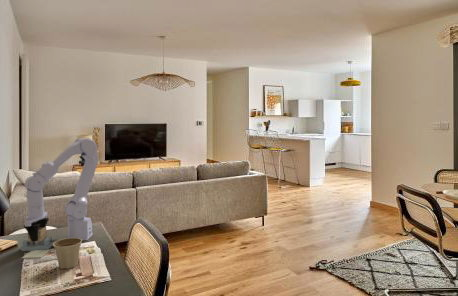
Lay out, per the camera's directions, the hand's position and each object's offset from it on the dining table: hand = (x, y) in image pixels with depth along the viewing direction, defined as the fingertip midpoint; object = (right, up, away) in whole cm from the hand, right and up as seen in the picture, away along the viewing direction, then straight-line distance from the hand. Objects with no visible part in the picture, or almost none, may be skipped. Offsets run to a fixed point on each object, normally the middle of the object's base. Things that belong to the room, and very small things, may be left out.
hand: (37, 238), depth 143 cm
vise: (+2, -4, 0) cm, 4 cm away
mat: (+3, -4, -8) cm, 9 cm away
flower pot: (+21, -5, -19) cm, 29 cm away
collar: (0, 0, 0) cm, 0 cm away
